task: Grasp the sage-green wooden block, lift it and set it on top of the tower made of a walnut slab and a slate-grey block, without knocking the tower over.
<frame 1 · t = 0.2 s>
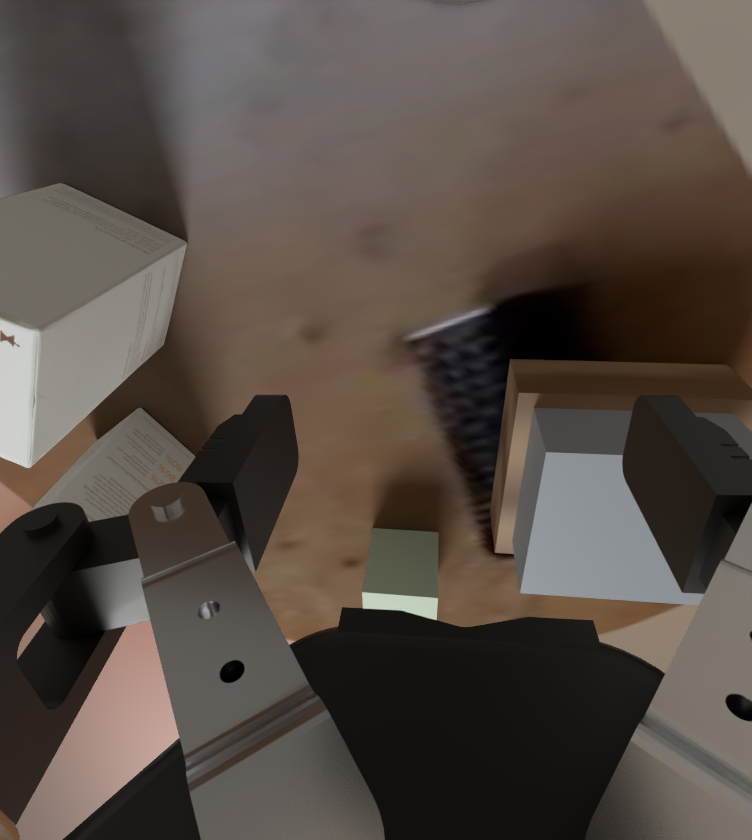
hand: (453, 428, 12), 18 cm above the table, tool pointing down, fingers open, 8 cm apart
supplement box: (118, 269, 30), on the table
small box: (162, 459, 38), on the table
walnut base slab: (592, 441, 33), on the table, touching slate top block
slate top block: (610, 484, 29), point 4 cm above the table, touching walnut base slab
sage block: (405, 552, 40), on the table
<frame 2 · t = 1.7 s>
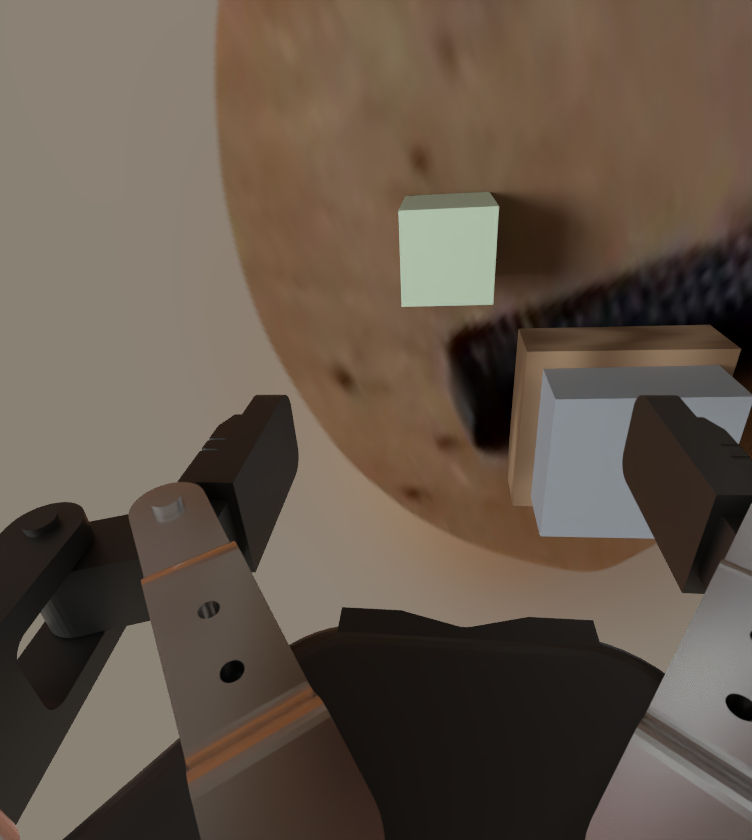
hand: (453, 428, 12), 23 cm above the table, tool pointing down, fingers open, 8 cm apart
walnut base slab: (596, 403, 37), on the table
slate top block: (615, 437, 33), point 4 cm above the table
sage block: (446, 237, 32), on the table
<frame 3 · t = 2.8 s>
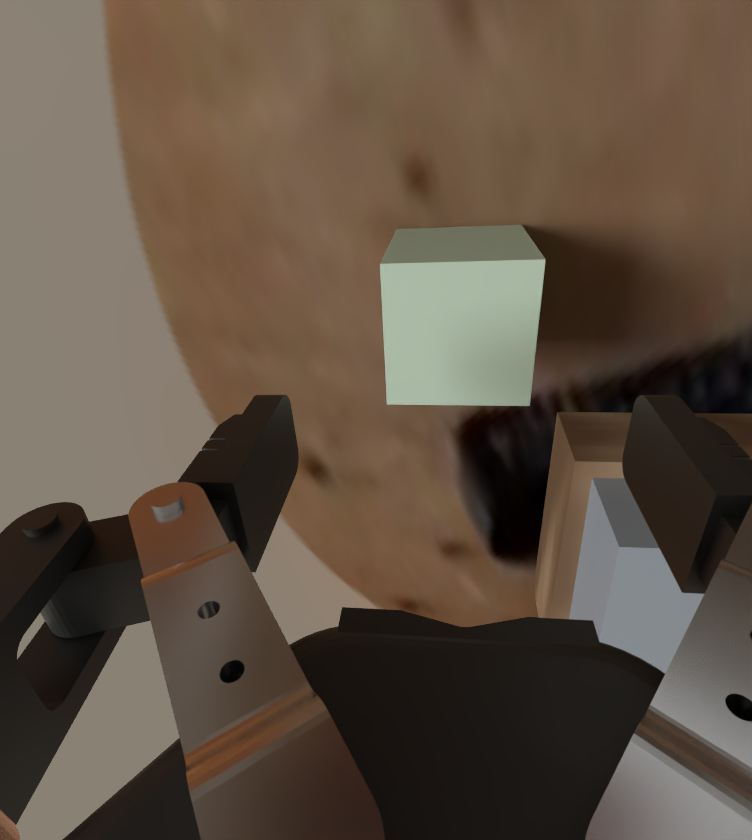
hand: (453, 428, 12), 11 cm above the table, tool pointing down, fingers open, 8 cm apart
walnut base slab: (660, 508, 27), on the table, touching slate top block
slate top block: (694, 568, 23), point 4 cm above the table, touching walnut base slab
sage block: (456, 287, 22), on the table
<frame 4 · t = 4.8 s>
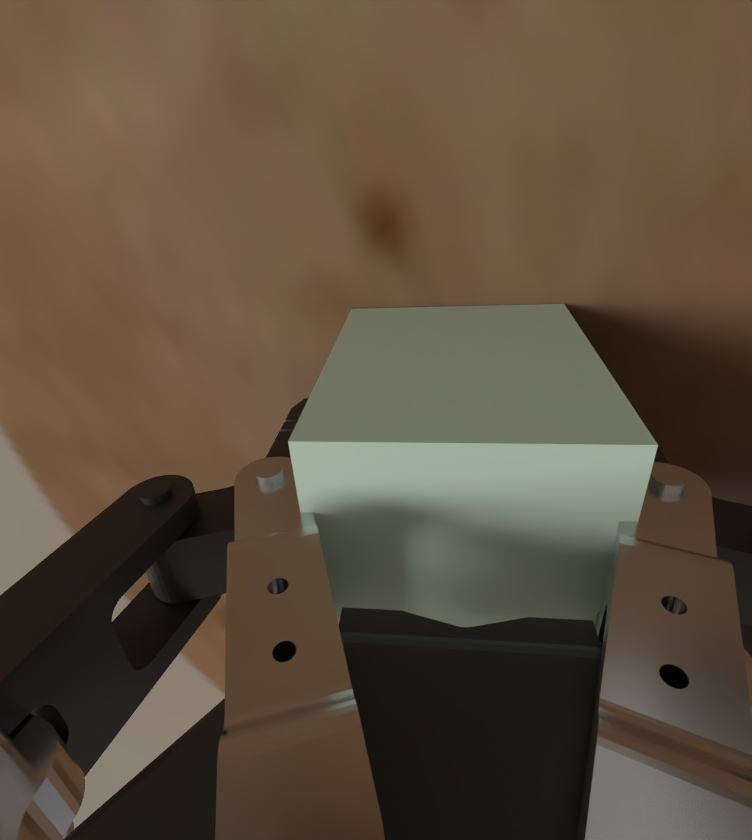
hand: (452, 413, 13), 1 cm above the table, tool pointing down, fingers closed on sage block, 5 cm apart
sage block: (453, 399, 13), on the table, touching gripper
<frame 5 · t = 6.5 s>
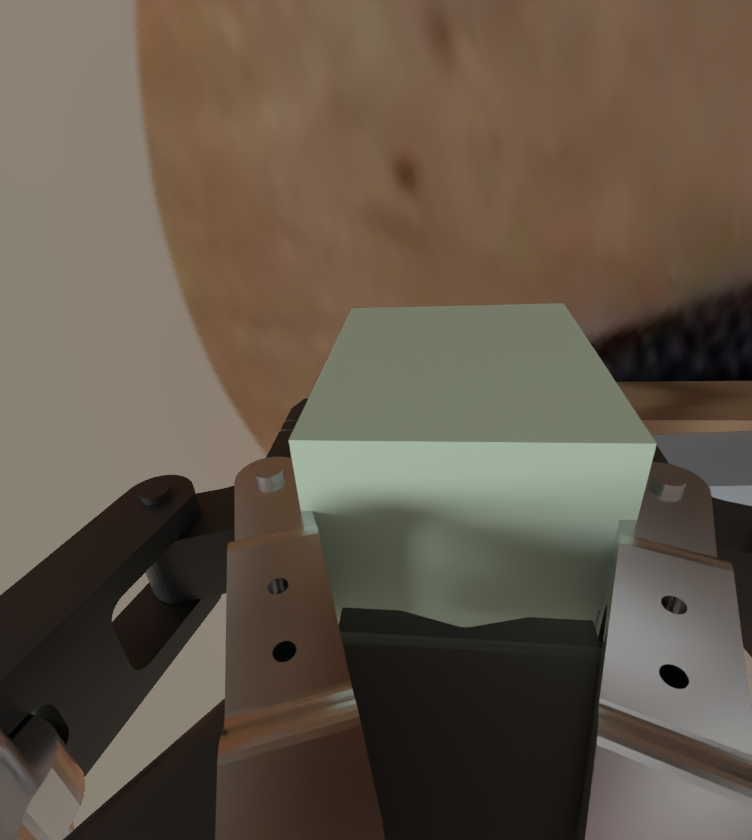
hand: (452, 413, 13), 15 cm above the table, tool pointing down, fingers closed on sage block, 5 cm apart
walnut base slab: (625, 468, 31), on the table
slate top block: (646, 515, 27), point 4 cm above the table
sage block: (453, 398, 13), point 14 cm above the table, touching gripper
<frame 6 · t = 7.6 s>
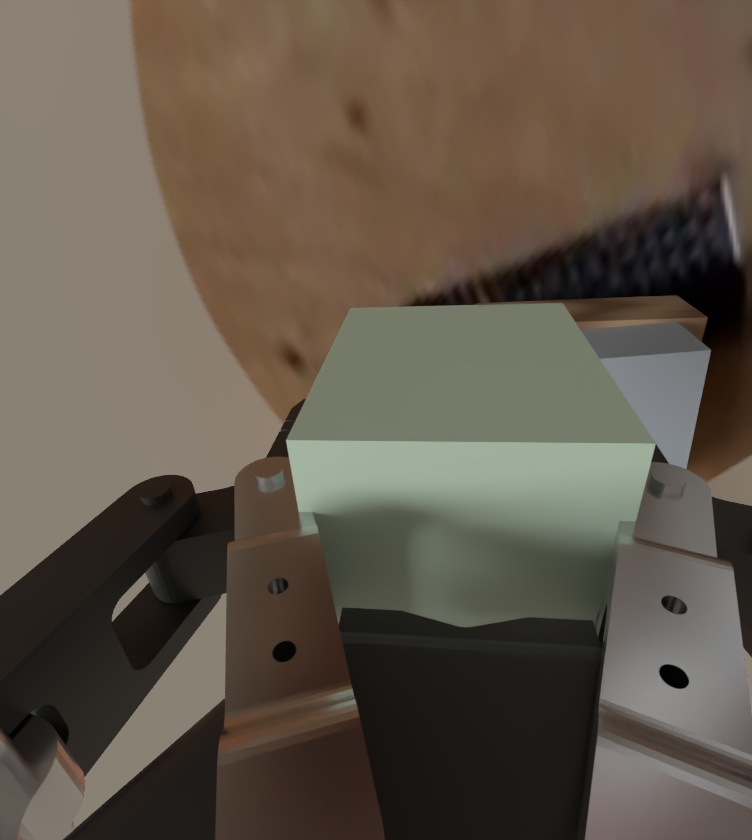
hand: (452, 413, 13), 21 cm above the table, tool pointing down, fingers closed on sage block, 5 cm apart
walnut base slab: (562, 382, 35), on the table
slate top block: (575, 407, 31), point 4 cm above the table
sage block: (452, 398, 13), point 20 cm above the table, touching gripper
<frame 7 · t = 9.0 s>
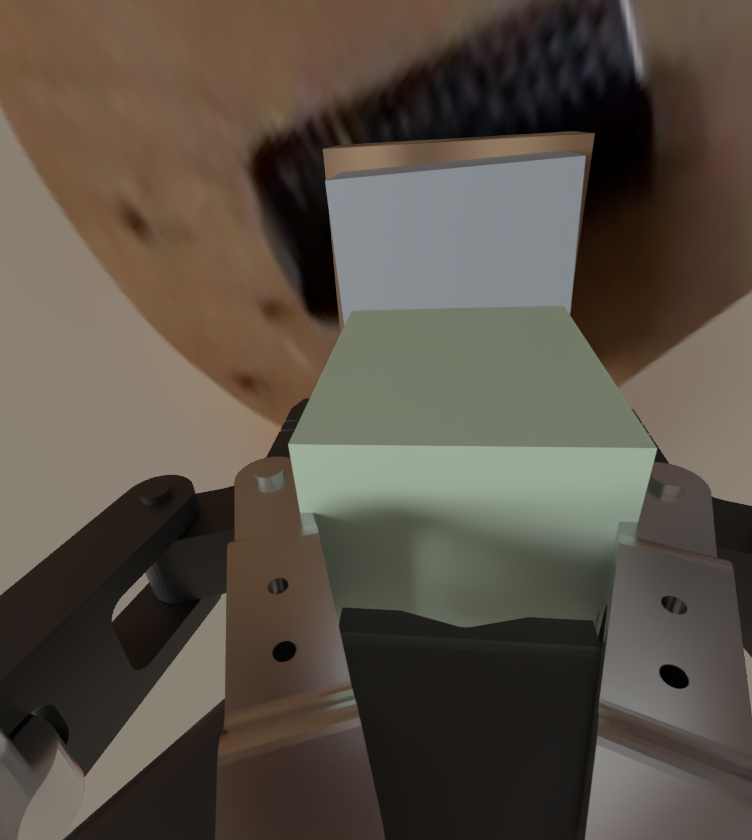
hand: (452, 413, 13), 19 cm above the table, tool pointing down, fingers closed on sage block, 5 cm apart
walnut base slab: (450, 255, 30), on the table, touching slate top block
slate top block: (451, 271, 26), point 4 cm above the table, touching walnut base slab
sage block: (453, 400, 13), point 18 cm above the table, touching gripper
when the fingers open (11 cm above the table, at t = 11.5 s): sage block drops 2 cm, resting on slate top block.
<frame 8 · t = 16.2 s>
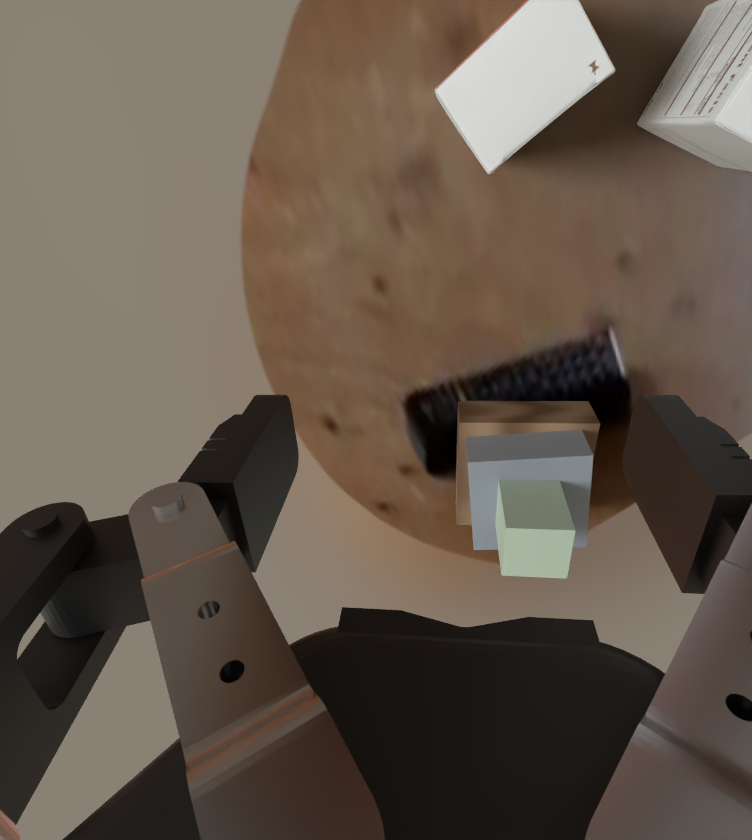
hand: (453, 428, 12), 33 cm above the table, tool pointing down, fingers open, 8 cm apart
supplement box: (711, 90, 35), on the table
small box: (503, 89, 36), on the table
walnut base slab: (516, 451, 51), on the table, touching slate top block
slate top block: (522, 478, 48), point 4 cm above the table, touching sage block, walnut base slab
sage block: (526, 503, 44), point 8 cm above the table, touching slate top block
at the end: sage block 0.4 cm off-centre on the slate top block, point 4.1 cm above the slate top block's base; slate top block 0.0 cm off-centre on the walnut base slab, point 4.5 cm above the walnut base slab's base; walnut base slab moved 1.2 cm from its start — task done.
